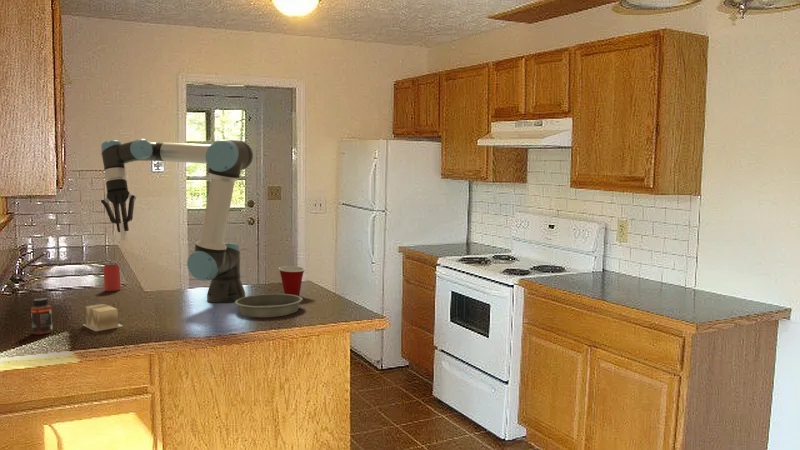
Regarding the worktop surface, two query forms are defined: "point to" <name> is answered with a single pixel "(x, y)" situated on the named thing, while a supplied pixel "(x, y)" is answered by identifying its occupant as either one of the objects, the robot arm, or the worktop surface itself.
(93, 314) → the beech block
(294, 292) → the plastic cup
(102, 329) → the mat
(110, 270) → the beer can
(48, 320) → the supplement bottle
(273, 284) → the worktop surface
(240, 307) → the cake pan
